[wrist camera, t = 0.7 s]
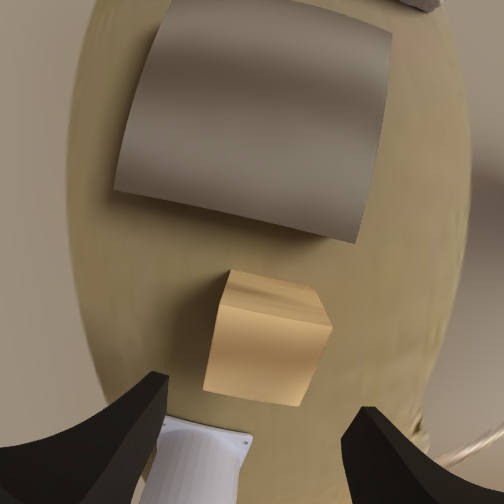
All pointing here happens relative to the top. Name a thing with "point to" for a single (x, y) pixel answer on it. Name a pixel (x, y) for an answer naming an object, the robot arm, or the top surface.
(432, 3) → the stone block
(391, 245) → the top surface
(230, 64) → the base block
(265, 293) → the maple cube
